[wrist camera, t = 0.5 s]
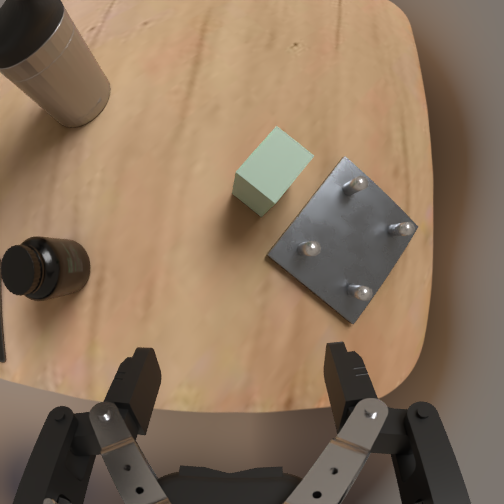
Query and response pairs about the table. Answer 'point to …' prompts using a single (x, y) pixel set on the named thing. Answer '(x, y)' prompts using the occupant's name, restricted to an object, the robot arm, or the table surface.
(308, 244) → the plate
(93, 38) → the table surface
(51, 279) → the supplement bottle
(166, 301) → the table surface
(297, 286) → the table surface
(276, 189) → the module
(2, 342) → the smartphone
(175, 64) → the table surface
